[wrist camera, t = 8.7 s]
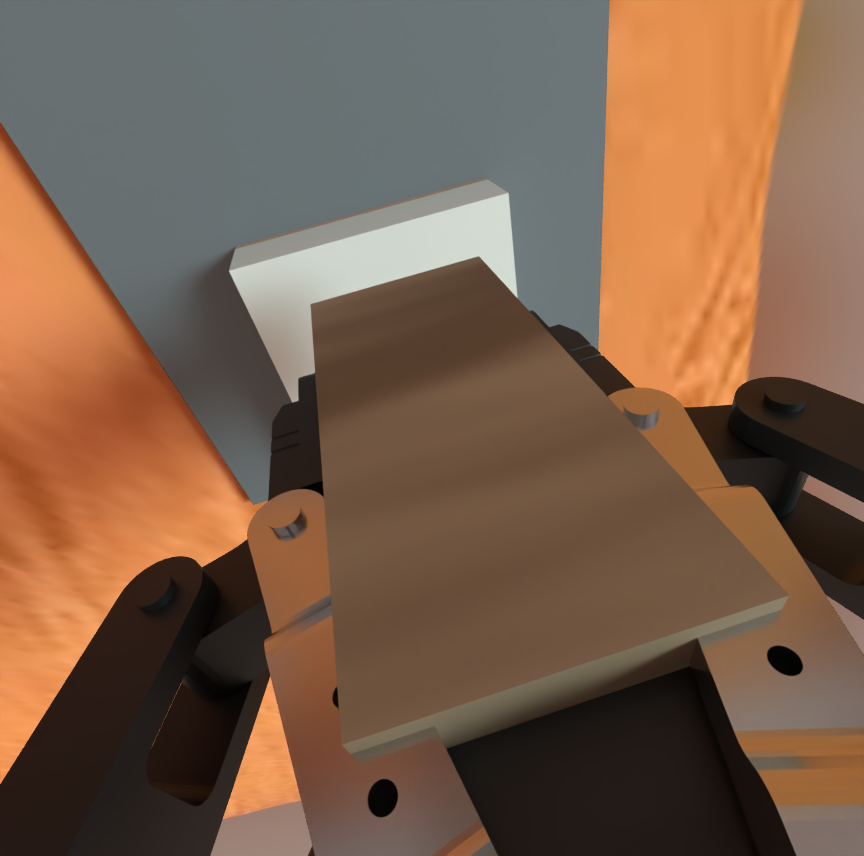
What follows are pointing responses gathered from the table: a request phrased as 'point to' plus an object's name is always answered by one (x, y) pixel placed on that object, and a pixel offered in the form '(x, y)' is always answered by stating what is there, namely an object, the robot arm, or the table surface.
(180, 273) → the mat
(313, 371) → the tile
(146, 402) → the table surface
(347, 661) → the block
